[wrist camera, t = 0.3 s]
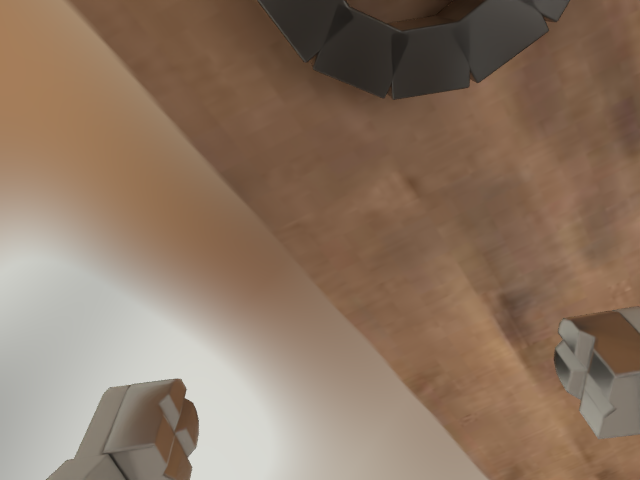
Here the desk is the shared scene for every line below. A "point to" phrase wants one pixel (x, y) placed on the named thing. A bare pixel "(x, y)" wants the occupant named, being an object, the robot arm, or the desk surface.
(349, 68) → the ring
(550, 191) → the desk surface
